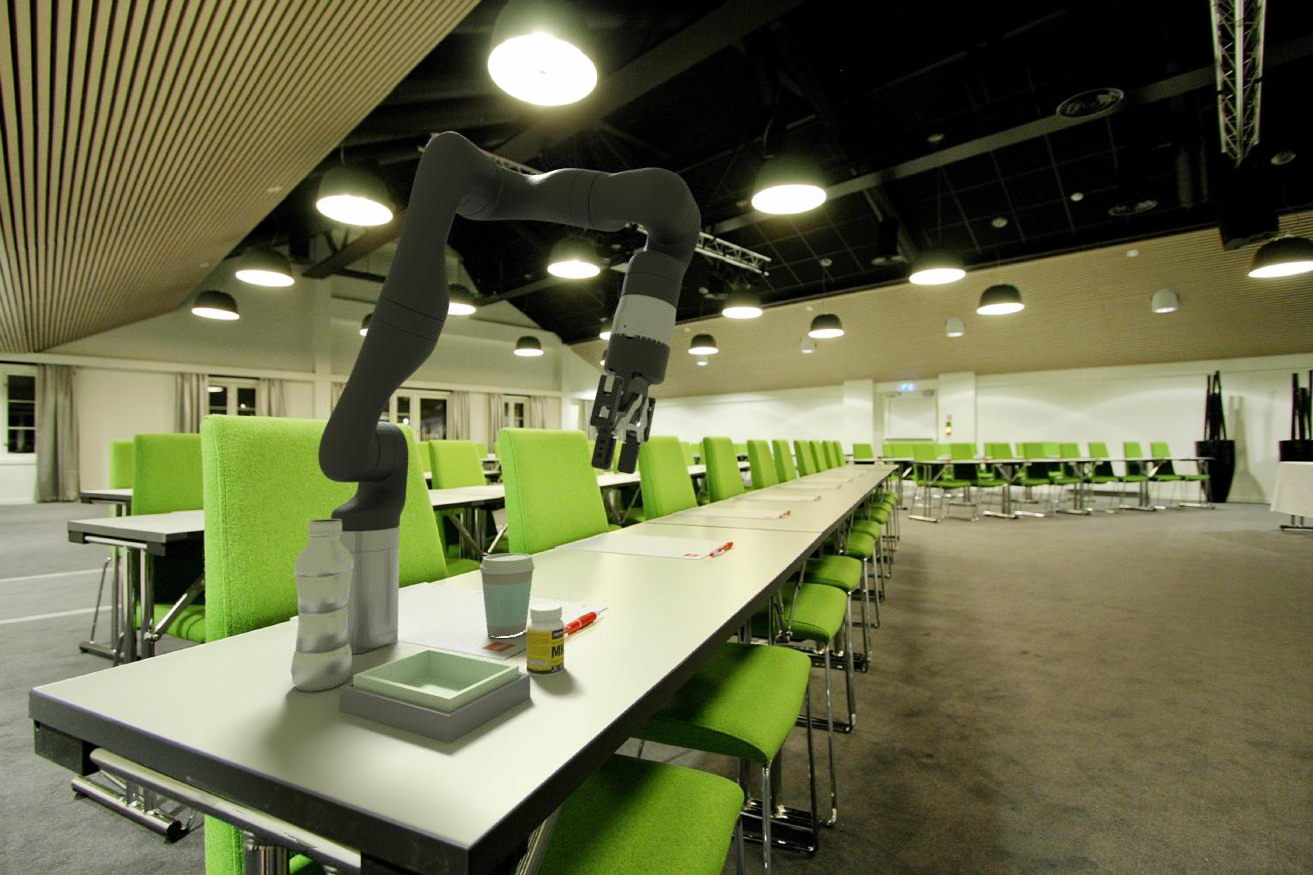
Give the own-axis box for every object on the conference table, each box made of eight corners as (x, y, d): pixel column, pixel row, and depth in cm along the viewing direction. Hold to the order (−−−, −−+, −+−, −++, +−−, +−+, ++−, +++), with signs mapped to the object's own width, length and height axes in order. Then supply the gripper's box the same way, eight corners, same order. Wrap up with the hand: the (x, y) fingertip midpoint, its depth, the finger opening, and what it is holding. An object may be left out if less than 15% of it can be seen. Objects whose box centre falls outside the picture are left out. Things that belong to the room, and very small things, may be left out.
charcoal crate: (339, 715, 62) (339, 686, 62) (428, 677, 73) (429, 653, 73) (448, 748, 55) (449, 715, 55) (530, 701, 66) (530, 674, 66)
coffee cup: (531, 623, 97) (531, 551, 97) (537, 638, 89) (538, 559, 89) (477, 628, 94) (478, 554, 95) (479, 644, 86) (480, 562, 87)
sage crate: (352, 708, 63) (353, 674, 63) (428, 677, 72) (428, 647, 72) (449, 736, 56) (449, 698, 56) (518, 698, 65) (519, 665, 65)
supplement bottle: (555, 680, 72) (556, 612, 72) (520, 678, 73) (520, 610, 73) (569, 667, 76) (569, 603, 77) (535, 664, 77) (536, 601, 78)
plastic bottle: (287, 703, 65) (291, 524, 66) (293, 682, 71) (296, 519, 72) (352, 692, 68) (355, 521, 69) (352, 673, 74) (355, 516, 75)
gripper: (631, 351, 78) (606, 469, 77) (590, 318, 65) (559, 460, 64) (683, 359, 76) (659, 480, 75) (653, 326, 63) (622, 473, 62)
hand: (613, 471), depth 70 cm, fingers open, 8 cm apart
